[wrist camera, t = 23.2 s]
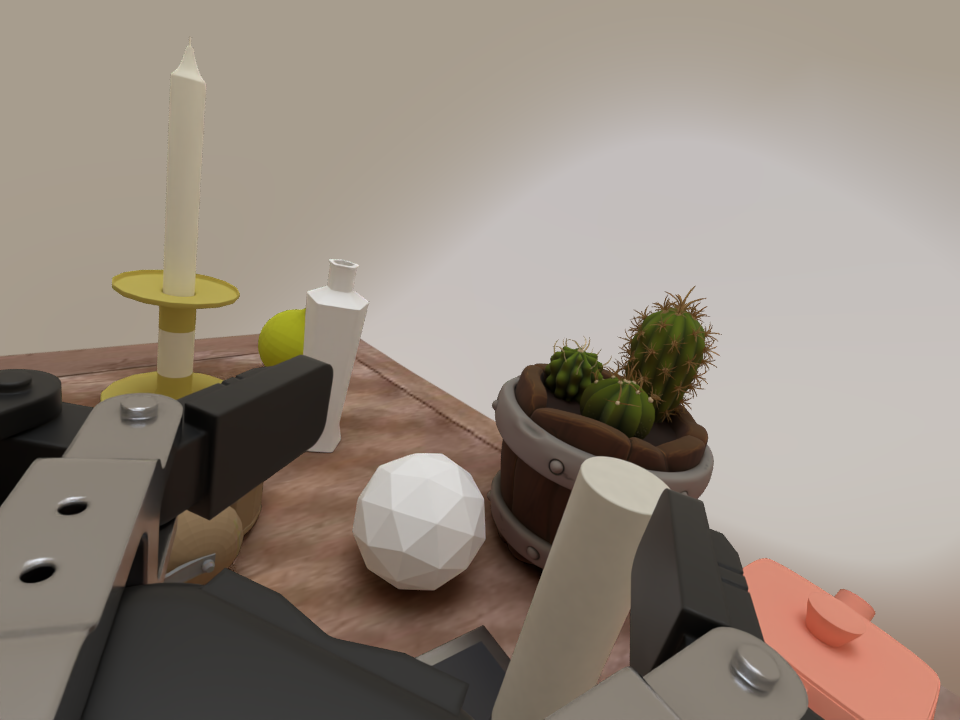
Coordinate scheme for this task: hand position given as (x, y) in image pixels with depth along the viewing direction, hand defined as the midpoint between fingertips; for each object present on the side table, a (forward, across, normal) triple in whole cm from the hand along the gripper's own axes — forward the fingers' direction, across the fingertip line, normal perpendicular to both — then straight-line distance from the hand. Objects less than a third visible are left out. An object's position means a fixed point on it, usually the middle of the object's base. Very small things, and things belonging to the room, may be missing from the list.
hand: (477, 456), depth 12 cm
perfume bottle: (+23, +17, +18) cm, 33 cm away
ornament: (+31, +25, +18) cm, 44 cm away
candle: (+21, +29, +18) cm, 40 cm away
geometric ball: (+14, +4, +18) cm, 23 cm away
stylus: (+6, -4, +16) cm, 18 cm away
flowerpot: (+23, -4, +18) cm, 29 cm away
